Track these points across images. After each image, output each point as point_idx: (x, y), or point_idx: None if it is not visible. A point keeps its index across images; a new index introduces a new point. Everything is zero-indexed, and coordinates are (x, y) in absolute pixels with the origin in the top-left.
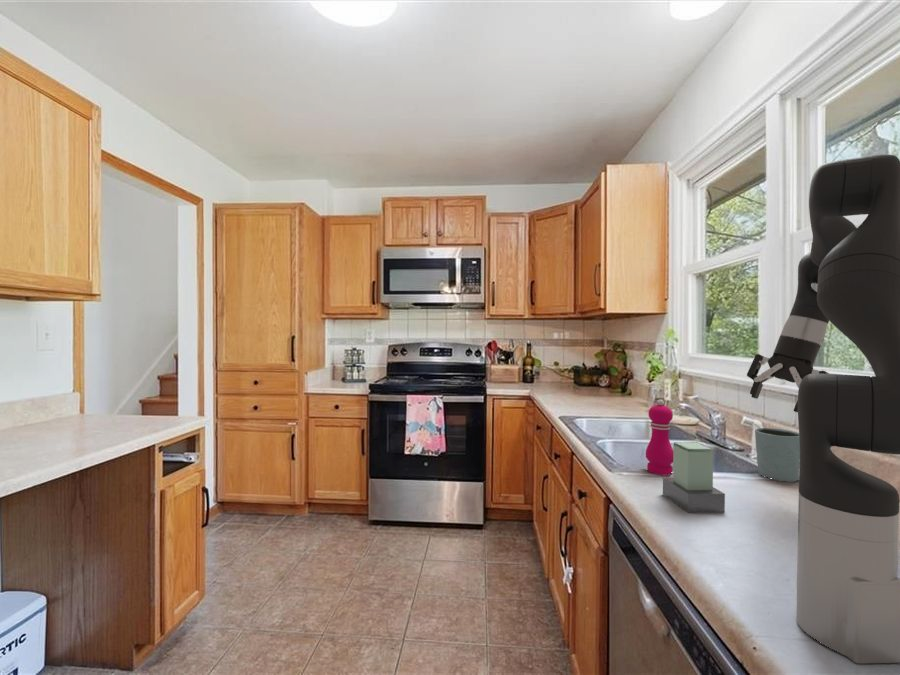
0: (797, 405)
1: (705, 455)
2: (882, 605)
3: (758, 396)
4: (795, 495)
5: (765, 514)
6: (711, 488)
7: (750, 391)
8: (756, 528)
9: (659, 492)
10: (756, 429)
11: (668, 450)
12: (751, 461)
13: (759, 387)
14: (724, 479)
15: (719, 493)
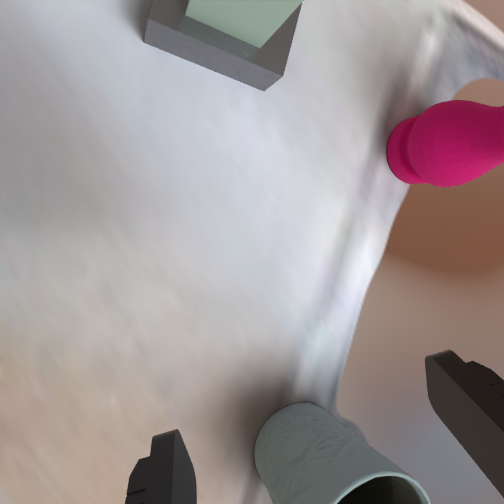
0: (160, 467)
1: None
2: None
3: (439, 416)
4: (180, 359)
5: (102, 142)
6: (186, 8)
7: (492, 371)
8: (33, 18)
9: None
10: (426, 500)
11: (441, 137)
12: None
13: (486, 434)
14: (320, 276)
15: (154, 3)
